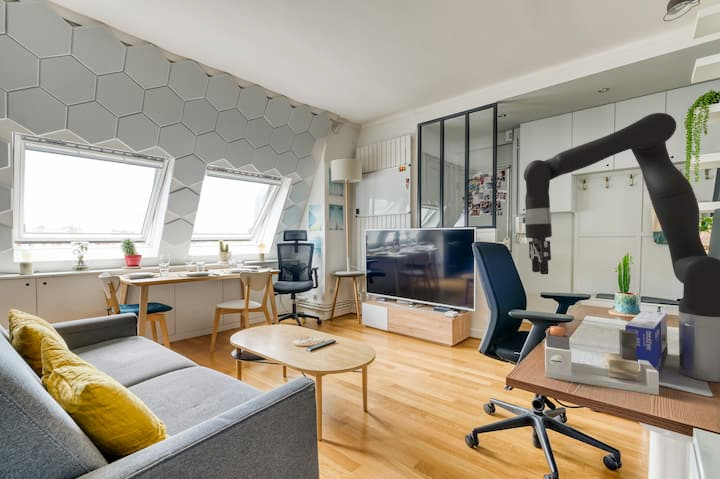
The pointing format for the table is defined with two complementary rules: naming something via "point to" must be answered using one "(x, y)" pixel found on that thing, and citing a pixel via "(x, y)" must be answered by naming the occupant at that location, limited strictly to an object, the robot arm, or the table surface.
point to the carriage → (624, 357)
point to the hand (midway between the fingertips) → (540, 273)
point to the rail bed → (594, 369)
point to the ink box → (650, 337)
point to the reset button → (557, 331)
